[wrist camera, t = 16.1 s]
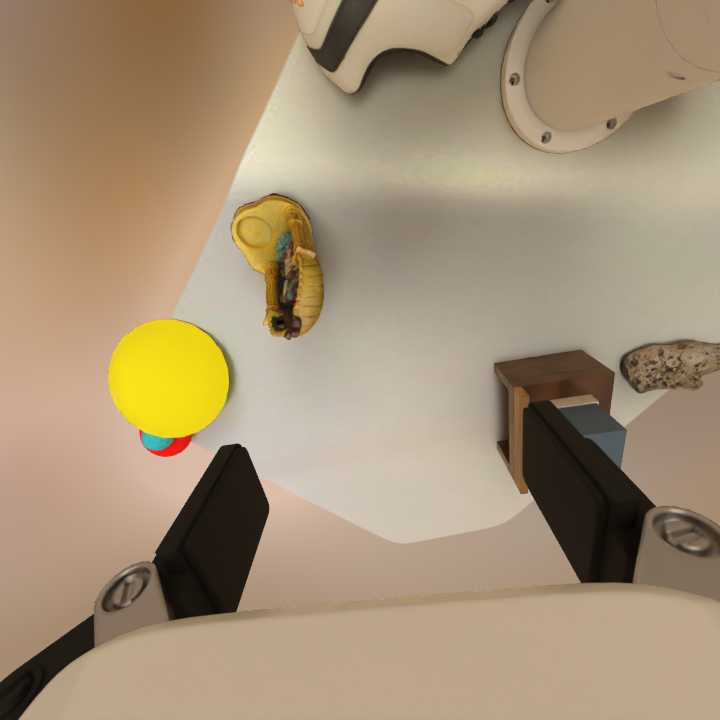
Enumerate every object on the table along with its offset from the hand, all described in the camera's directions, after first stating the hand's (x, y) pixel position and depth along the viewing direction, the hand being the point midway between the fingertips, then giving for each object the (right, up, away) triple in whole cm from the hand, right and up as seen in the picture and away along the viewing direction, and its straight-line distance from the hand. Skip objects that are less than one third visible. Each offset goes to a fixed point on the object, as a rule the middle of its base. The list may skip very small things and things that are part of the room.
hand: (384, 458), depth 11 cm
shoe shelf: (+21, -2, +31) cm, 38 cm away
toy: (-24, 0, +34) cm, 41 cm away
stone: (+37, +1, +26) cm, 45 cm away
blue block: (+21, -5, +26) cm, 34 cm away
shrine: (-8, +15, +25) cm, 30 cm away
